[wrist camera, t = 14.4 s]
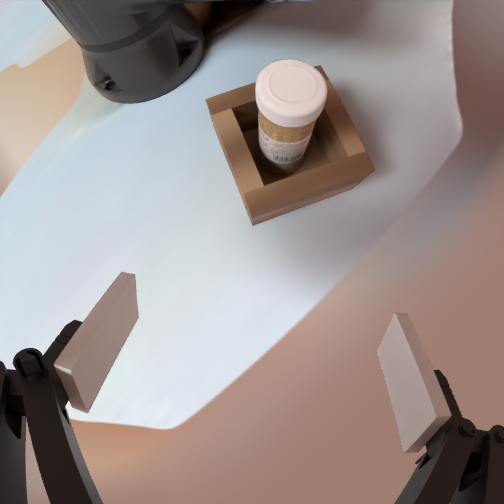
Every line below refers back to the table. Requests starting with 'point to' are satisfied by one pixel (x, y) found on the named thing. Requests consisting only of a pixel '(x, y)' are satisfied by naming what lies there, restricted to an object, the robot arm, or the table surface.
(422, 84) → the table surface
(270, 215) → the walnut socket block
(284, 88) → the sprinkles bottle
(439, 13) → the table surface
